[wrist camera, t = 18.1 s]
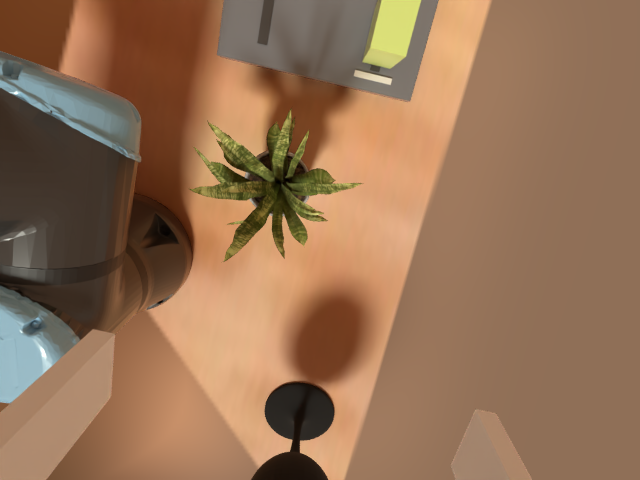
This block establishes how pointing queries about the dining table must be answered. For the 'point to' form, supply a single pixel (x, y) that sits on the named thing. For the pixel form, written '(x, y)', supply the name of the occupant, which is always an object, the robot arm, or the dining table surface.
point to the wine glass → (296, 430)
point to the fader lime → (390, 32)
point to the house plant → (269, 185)
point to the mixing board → (320, 42)
